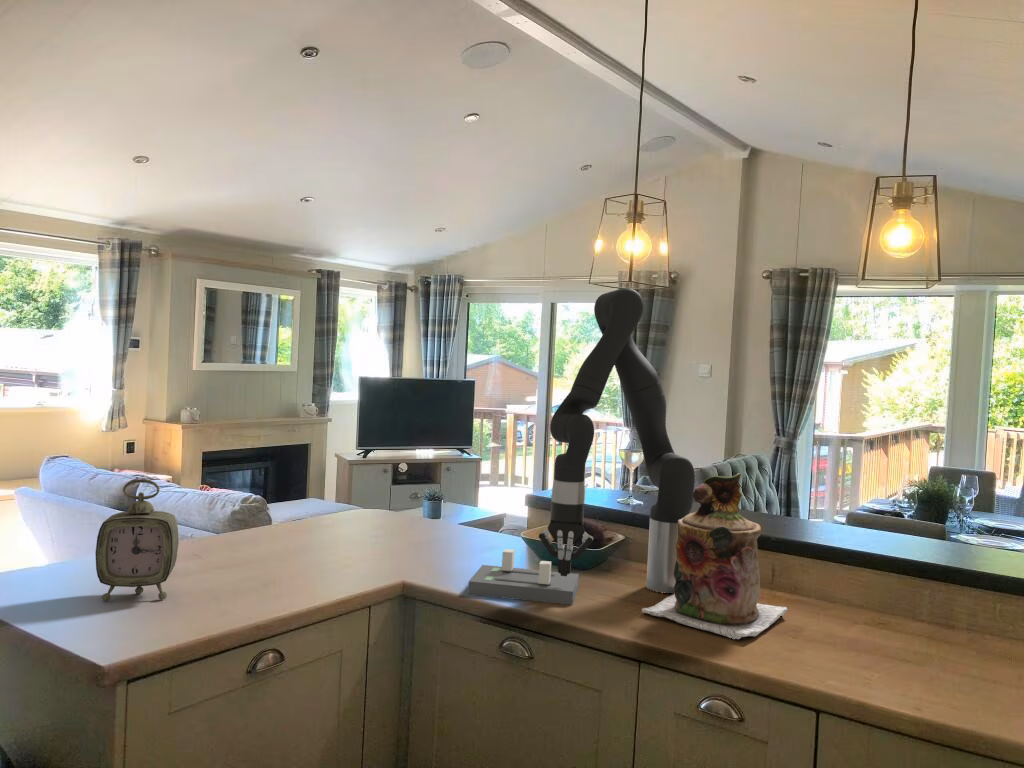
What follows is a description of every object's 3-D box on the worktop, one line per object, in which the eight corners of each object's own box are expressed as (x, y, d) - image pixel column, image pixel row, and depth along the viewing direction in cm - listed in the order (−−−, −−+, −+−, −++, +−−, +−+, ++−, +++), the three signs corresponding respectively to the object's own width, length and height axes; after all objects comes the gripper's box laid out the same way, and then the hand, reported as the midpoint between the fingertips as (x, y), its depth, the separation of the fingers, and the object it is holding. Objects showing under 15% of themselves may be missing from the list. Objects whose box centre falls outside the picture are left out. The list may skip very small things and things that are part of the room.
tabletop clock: (93, 604, 151) (98, 482, 151) (104, 591, 160) (109, 475, 159) (170, 602, 155) (175, 482, 155) (177, 589, 164) (182, 476, 163)
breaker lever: (513, 568, 182) (514, 549, 182) (511, 571, 179) (512, 552, 179) (503, 567, 183) (504, 548, 182) (501, 570, 180) (502, 551, 180)
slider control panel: (578, 586, 181) (578, 573, 181) (572, 605, 167) (573, 591, 167) (481, 576, 186) (482, 564, 186) (468, 594, 171) (468, 580, 171)
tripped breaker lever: (550, 580, 173) (551, 561, 172) (548, 584, 170) (549, 564, 169) (540, 579, 173) (541, 560, 173) (538, 583, 170) (539, 563, 170)
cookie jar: (687, 592, 181) (695, 461, 181) (789, 617, 166) (798, 474, 165) (637, 615, 162) (645, 469, 161) (747, 646, 147) (756, 484, 146)
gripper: (597, 499, 173) (593, 573, 173) (541, 495, 175) (537, 568, 175) (596, 505, 165) (591, 582, 166) (537, 500, 167) (533, 576, 168)
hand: (563, 575), depth 170 cm, fingers closed
